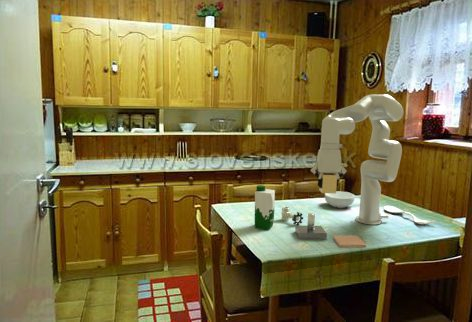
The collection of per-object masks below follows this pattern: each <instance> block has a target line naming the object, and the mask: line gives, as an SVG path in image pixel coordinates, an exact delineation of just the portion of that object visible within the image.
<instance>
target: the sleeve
mask: <svg viewBox="0 0 472 322" xmlns="http://www.w3.org/2000/svg"><path fill="white" fill-rule="evenodd" d="M321 179H322V188H319V187H318V189H319V192H320V193H321V194H325V193H336V191H337V188H338V186H337V175H336V174H335V173H323V174H322V177H321ZM336 187H337V188H336Z"/></svg>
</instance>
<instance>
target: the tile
mask: <svg viewBox="0 0 472 322" xmlns="http://www.w3.org/2000/svg"><path fill="white" fill-rule="evenodd" d="M332 239H333V240H334V241H335V242H336V244H337V245H338V247H339V248H367V245H366V243H365V242H364V241H363V240H362V239H361V238H360V237H359V236H358V235H332Z"/></svg>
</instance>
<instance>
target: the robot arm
mask: <svg viewBox="0 0 472 322" xmlns="http://www.w3.org/2000/svg"><path fill="white" fill-rule="evenodd" d="M403 116H404V108H403V106H402V104H401V103H400V102H399V101H398V100H396V99H395V98H394V97H392V96H391V95H389V94H373V93H372V94H367V95H365V96H363V97H362V98H360V99H359V100H358V101H357V102H355V103H354V104H352V105H349V106H346V107H342V108H340V109H339V108H338V109H336V110H334V111H332V112H331V113H329V114H327V116H325V117H324V118H323V119H322V121H321V122H322V123H321V135H320V137H321V139H320V140H321V141H320V149H318V152H317V156H316V162H315V163H316V164H315V165H314V166H313V167H312V168H311V169H310V172H311V173H313V175H314V176H315V177H316V178H317V187H318V189H319V188H322V179H321V177H322V174H323V173H335V174H336V175H337V187H336V189H338V187H339V182H340V181H339V180H340V179H341V178H342V177H343V176H344V175H345V174H346V173H347V172H348V171H347V169H346V167H344V166H343V165H342V155H341V150H340V149H341V148H343V143H340V135H350V134H352V133H353V132H354V131H355V129H356V123H359V122H362V121H365V120H366V119H367V118H368V119H369V120H370V123H371V128H372V129H371V136H370V141H369V145H368V148H367V149H368V151H367V154H368V156H370V157H371V158H375V160H374V159H367V160H364V161H362V163H361V164H360V178H361V181H360V183H361V185H360V186H361V187H360V199H359V200H360V202H359V215H357V216H356V217H355V221H356V222H358V223H361V224H365V225H372V226H373V225H375V226H376V225H380V224H382V220H383V219H389V215H388V214H384V213H380V206H381V197H382V196H381V195H382V193H381V192H382V186H381V183H380V182H385V183H386V182H387V183H391V182H392V183H393V182H394V181H395V180H396V178H397V176H398V171H399V168H400V164H401V158H402V155H403V154H402V153H403V148H402V147H403V146H402V144H401V143H400V142H399V141H397V140H390V135H391V128H390V126H389V124H388V123H387V122H399V121H401V119H402V118H403ZM376 159H381V160H376ZM382 160H386V161H382ZM317 172H318V173H317ZM379 181H380V182H379Z"/></svg>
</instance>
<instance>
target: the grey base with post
mask: <svg viewBox="0 0 472 322" xmlns="http://www.w3.org/2000/svg"><path fill="white" fill-rule="evenodd" d="M315 219H316V214H315V213H313V212H312V213H310V212H309V213H307V225H294V228H295V231H294V233H295V234H296V236H297V238H298V240H310V241H311V240H314V241H315V240H319V241H320V240H322V241H323V240H324V241H326V240H327V236H328V235H327V232H326V230H325V229H324V228H323V226H322V225H315V221H316V220H315Z"/></svg>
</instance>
